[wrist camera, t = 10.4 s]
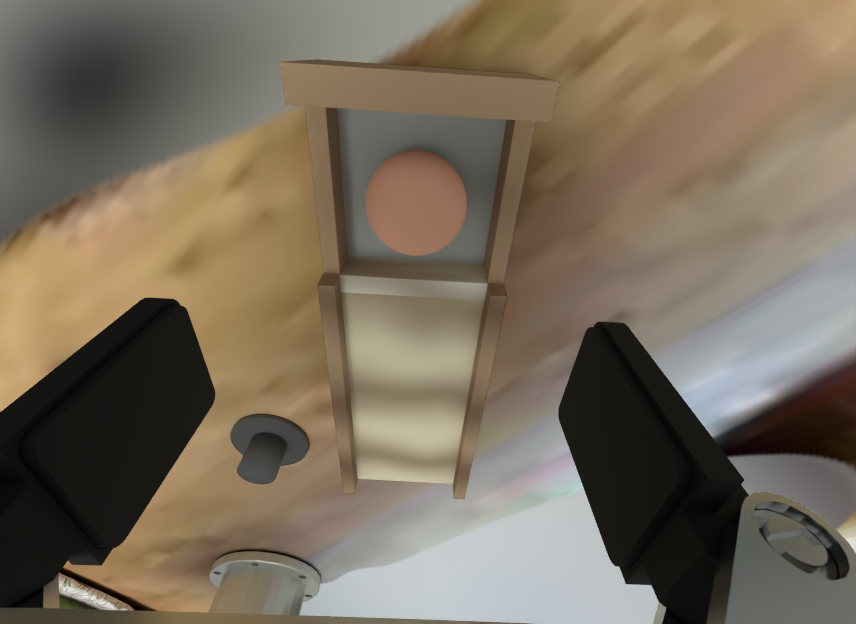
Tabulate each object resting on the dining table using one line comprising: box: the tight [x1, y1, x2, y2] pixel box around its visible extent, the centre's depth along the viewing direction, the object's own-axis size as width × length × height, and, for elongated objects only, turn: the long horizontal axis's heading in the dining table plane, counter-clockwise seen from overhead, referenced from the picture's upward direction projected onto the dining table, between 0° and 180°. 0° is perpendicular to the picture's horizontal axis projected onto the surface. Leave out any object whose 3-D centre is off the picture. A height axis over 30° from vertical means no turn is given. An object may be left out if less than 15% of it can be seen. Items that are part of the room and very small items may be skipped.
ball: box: [366, 150, 467, 256], centre depth 16 cm, size 4×4×4 cm
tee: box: [230, 414, 309, 484], centre depth 29 cm, size 6×6×3 cm
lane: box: [317, 256, 507, 499], centre depth 24 cm, size 18×9×4 cm, turn 177°
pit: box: [280, 60, 560, 284], centre depth 16 cm, size 9×9×4 cm
